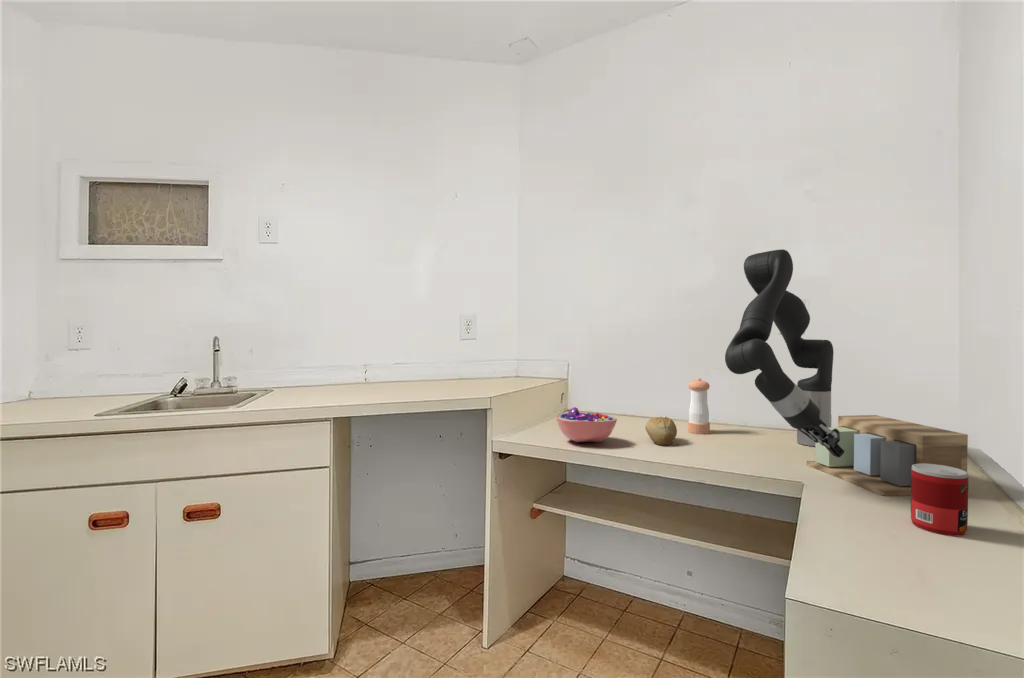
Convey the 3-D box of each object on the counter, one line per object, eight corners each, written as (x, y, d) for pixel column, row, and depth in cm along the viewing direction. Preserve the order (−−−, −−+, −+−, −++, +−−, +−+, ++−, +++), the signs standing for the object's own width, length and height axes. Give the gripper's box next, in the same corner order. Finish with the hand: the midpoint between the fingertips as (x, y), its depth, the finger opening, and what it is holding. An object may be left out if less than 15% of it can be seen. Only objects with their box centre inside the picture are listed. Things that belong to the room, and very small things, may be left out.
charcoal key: (880, 479, 116) (880, 441, 116) (919, 477, 117) (919, 440, 117) (899, 486, 111) (899, 446, 111) (939, 484, 112) (940, 445, 112)
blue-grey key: (853, 469, 124) (854, 433, 124) (890, 468, 125) (890, 433, 125) (870, 475, 119) (870, 438, 119) (908, 474, 120) (908, 437, 120)
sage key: (815, 461, 132) (815, 427, 131) (850, 460, 132) (850, 427, 132) (829, 466, 127) (829, 431, 126) (865, 465, 127) (865, 430, 127)
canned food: (972, 540, 86) (973, 477, 86) (913, 530, 90) (914, 470, 90) (961, 525, 93) (962, 467, 92) (907, 516, 97) (908, 461, 97)
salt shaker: (713, 434, 172) (713, 379, 172) (692, 434, 172) (692, 379, 172) (705, 429, 179) (705, 377, 179) (685, 429, 179) (685, 377, 179)
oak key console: (806, 464, 133) (807, 416, 133) (875, 462, 135) (875, 415, 135) (884, 495, 109) (885, 436, 108) (966, 492, 111) (967, 434, 110)
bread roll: (670, 436, 169) (670, 413, 169) (681, 447, 154) (681, 421, 154) (641, 436, 170) (641, 413, 170) (650, 446, 155) (650, 421, 155)
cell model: (612, 450, 150) (612, 413, 150) (549, 445, 157) (549, 410, 157) (620, 438, 166) (620, 405, 165) (562, 434, 173) (562, 402, 172)
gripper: (823, 397, 113) (872, 449, 114) (785, 390, 126) (829, 437, 127) (801, 420, 112) (850, 473, 114) (766, 411, 125) (810, 458, 127)
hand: (839, 454), depth 120 cm, fingers closed
